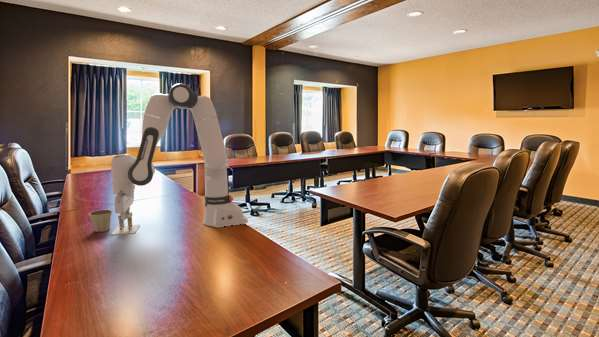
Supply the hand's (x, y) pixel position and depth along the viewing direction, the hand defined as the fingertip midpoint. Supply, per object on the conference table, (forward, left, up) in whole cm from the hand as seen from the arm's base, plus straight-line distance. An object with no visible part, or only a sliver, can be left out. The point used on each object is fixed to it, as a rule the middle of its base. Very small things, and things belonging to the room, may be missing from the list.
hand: (125, 217), depth 154 cm
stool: (0, 0, -5) cm, 5 cm away
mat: (0, 0, -6) cm, 6 cm away
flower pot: (+11, -3, -6) cm, 13 cm away
